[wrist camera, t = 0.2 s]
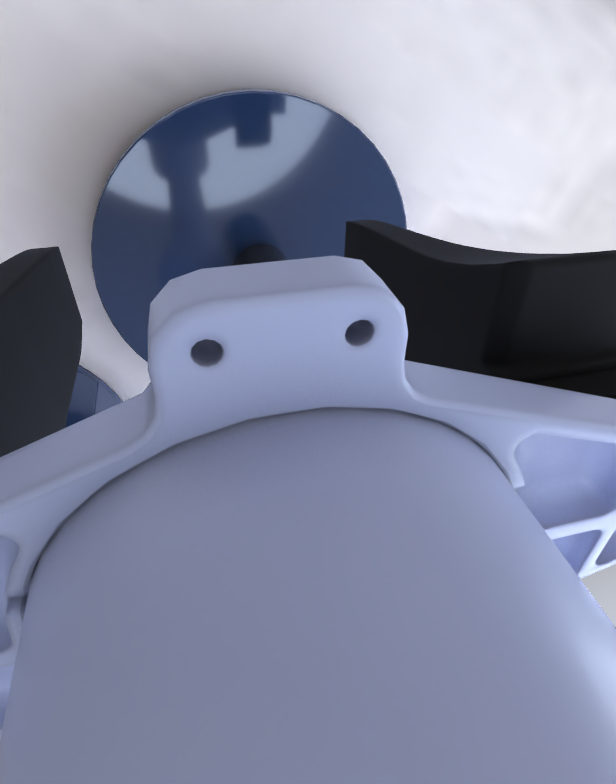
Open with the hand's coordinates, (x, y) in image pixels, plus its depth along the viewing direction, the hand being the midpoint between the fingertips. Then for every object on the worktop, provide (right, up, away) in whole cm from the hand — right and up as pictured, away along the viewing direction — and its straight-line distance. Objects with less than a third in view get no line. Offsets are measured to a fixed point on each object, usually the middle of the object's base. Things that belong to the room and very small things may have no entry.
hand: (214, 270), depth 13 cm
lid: (0, +3, +10) cm, 11 cm away
